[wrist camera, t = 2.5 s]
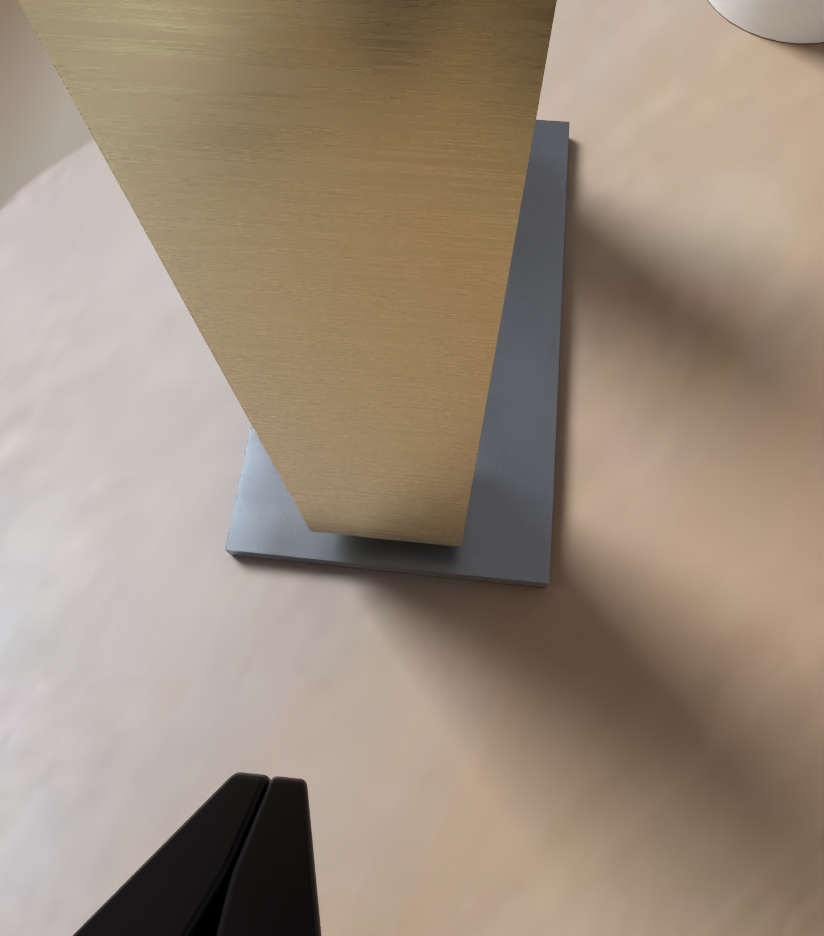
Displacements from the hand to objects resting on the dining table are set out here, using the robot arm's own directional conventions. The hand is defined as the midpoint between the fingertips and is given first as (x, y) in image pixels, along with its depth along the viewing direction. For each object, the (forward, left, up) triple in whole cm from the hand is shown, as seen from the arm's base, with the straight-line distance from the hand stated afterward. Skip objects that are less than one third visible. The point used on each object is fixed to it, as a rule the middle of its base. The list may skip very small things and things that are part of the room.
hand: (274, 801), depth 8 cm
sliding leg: (+7, +2, -11) cm, 13 cm away
